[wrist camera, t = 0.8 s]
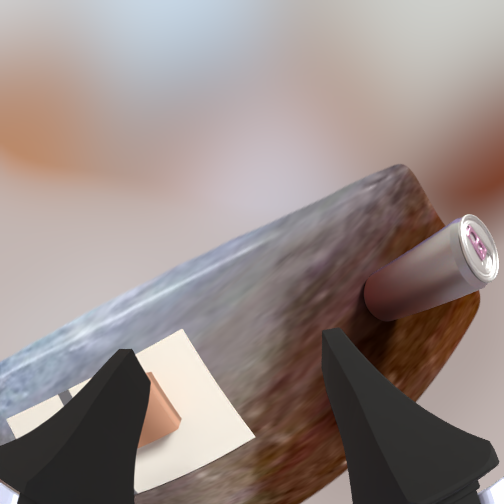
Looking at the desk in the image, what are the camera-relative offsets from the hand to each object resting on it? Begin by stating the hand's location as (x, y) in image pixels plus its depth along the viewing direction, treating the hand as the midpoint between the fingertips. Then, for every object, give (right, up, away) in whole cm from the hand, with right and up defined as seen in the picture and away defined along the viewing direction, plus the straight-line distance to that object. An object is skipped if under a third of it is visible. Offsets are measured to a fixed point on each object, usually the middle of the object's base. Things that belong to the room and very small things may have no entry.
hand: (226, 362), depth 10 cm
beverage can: (+16, -1, +20) cm, 25 cm away
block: (-9, -10, +11) cm, 17 cm away
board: (-12, -13, +9) cm, 20 cm away
